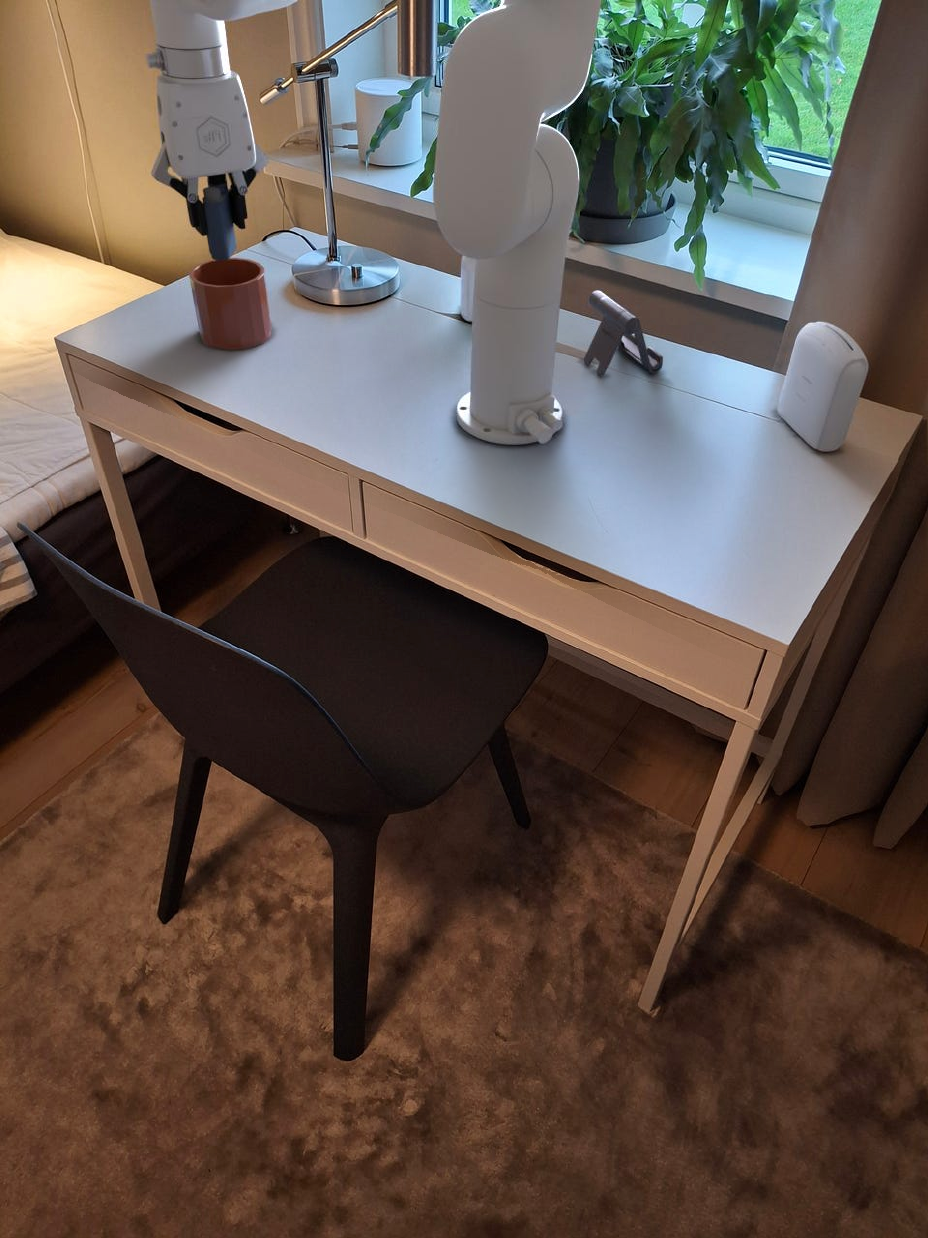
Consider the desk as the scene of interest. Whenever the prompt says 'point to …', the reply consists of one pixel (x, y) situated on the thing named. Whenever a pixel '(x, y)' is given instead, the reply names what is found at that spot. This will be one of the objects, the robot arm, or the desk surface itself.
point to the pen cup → (231, 303)
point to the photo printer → (823, 385)
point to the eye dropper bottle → (467, 287)
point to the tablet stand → (618, 336)
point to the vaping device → (219, 218)
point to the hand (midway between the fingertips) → (220, 227)
